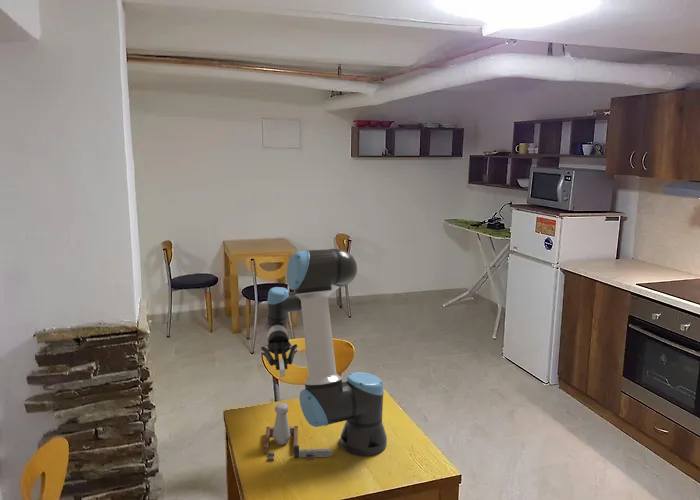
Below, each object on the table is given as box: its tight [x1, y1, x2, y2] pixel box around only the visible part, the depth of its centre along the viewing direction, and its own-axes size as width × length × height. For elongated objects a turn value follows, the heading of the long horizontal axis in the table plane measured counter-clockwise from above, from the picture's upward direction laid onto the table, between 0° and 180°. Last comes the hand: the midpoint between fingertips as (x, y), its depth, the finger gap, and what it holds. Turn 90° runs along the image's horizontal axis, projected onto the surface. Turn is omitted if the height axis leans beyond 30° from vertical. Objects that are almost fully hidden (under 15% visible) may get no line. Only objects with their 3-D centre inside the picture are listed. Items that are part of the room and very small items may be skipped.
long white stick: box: [293, 445, 332, 459], centre depth 169 cm, size 12×1×3 cm, turn 95°
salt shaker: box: [272, 402, 292, 446], centre depth 176 cm, size 6×6×13 cm
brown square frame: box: [263, 425, 314, 462], centre depth 175 cm, size 15×16×2 cm
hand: (282, 373), depth 177 cm, fingers closed
